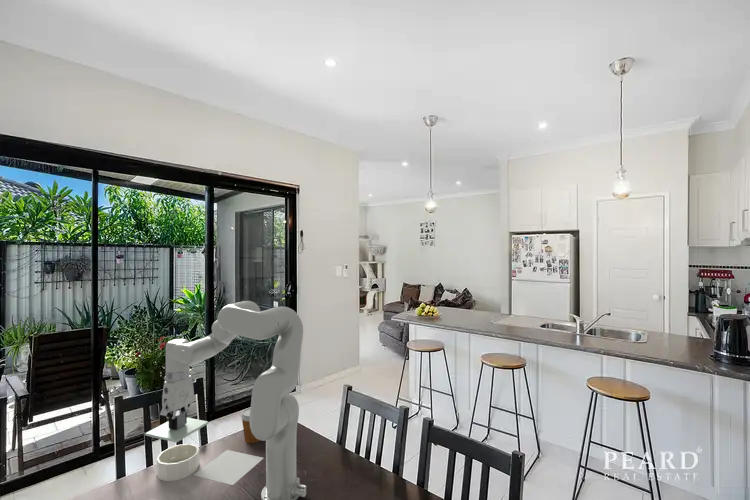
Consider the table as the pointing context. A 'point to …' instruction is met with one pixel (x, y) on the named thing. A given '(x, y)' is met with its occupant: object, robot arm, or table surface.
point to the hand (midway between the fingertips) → (177, 425)
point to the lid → (182, 428)
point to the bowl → (177, 462)
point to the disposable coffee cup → (247, 427)
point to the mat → (228, 467)
